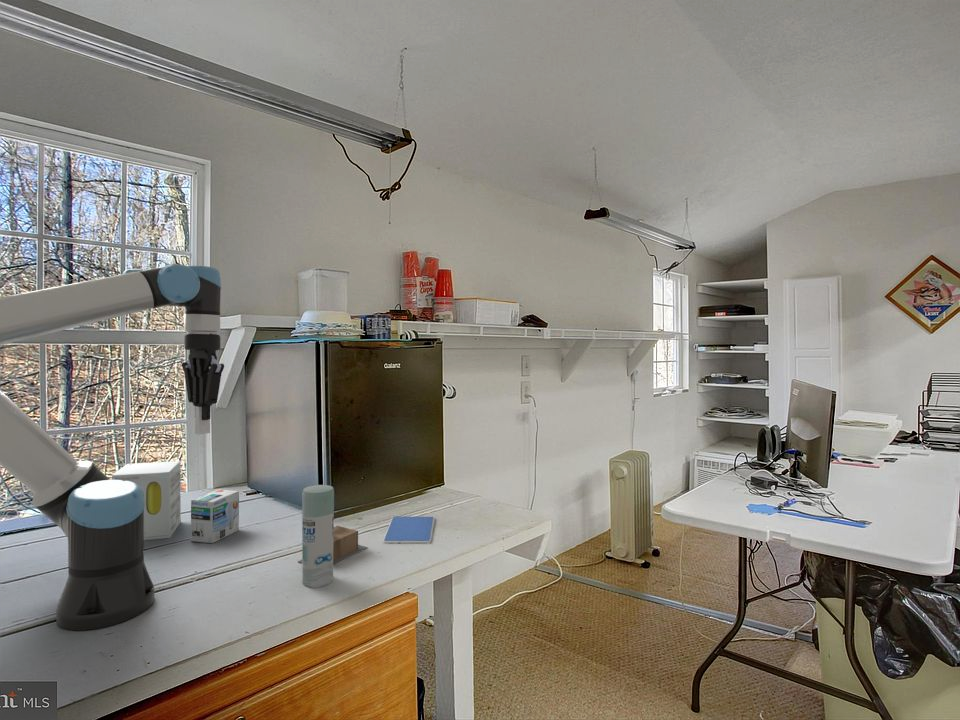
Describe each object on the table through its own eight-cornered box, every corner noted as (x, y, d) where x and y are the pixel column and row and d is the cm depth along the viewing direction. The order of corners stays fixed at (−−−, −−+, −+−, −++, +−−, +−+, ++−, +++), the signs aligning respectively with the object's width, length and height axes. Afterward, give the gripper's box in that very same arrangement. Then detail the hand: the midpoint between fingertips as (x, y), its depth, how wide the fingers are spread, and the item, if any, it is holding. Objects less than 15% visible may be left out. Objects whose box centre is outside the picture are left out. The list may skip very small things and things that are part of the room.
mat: (322, 569, 118) (322, 569, 118) (297, 562, 122) (297, 561, 122) (367, 547, 131) (367, 547, 131) (343, 541, 135) (343, 540, 135)
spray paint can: (339, 581, 112) (339, 489, 112) (310, 591, 108) (311, 495, 107) (324, 571, 117) (325, 483, 116) (296, 580, 113) (296, 488, 112)
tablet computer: (430, 546, 134) (430, 541, 134) (381, 545, 134) (381, 540, 134) (435, 520, 153) (435, 516, 153) (392, 520, 153) (392, 515, 153)
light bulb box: (212, 544, 132) (212, 501, 131) (189, 541, 133) (189, 499, 133) (240, 529, 142) (240, 490, 142) (218, 527, 144) (218, 488, 143)
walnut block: (324, 564, 120) (357, 548, 130) (324, 545, 120) (358, 530, 130) (303, 558, 124) (337, 543, 133) (303, 539, 124) (337, 525, 133)
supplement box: (110, 544, 131) (109, 474, 130) (126, 526, 143) (126, 463, 143) (170, 538, 135) (170, 471, 134) (181, 521, 148) (181, 460, 147)
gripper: (234, 333, 122) (234, 433, 123) (201, 333, 129) (201, 428, 130) (204, 333, 116) (204, 438, 117) (170, 332, 122) (170, 433, 123)
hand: (202, 433), depth 123 cm, fingers closed
